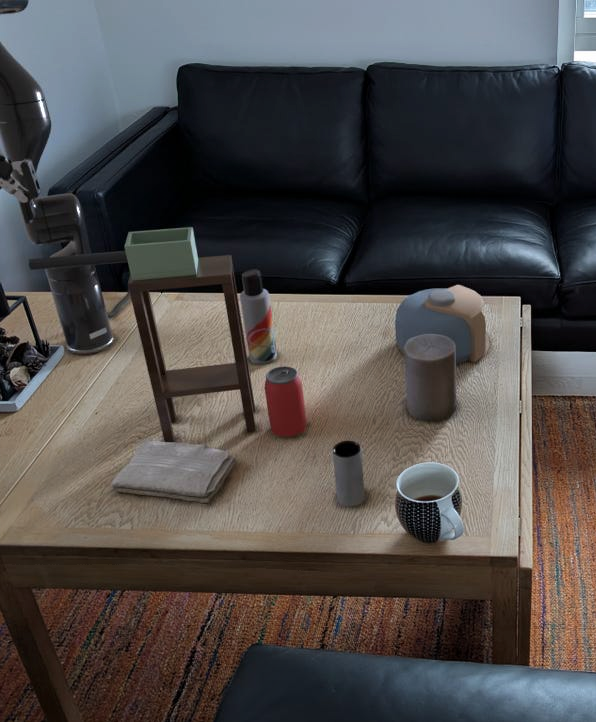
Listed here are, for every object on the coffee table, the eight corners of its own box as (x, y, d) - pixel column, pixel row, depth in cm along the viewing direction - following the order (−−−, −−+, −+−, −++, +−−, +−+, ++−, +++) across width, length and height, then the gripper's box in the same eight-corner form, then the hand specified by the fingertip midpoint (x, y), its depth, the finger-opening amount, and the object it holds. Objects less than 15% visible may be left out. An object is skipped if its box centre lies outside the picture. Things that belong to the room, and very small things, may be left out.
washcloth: (212, 506, 136) (209, 491, 134) (109, 495, 138) (104, 480, 136) (240, 461, 146) (237, 447, 144) (143, 451, 148) (140, 437, 146)
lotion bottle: (270, 366, 172) (258, 279, 162) (244, 362, 173) (231, 276, 163) (281, 352, 177) (270, 267, 167) (256, 349, 178) (243, 264, 168)
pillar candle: (464, 400, 163) (465, 334, 155) (442, 427, 155) (441, 358, 147) (420, 388, 166) (419, 323, 158) (396, 414, 158) (393, 346, 151)
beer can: (313, 422, 156) (307, 368, 149) (295, 442, 150) (288, 387, 144) (282, 415, 157) (275, 361, 151) (264, 435, 152) (255, 380, 146)
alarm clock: (495, 364, 174) (496, 313, 168) (399, 371, 171) (397, 319, 165) (481, 320, 190) (481, 272, 184) (393, 326, 188) (391, 278, 181)
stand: (167, 418, 156) (132, 263, 140) (255, 407, 160) (231, 254, 143) (164, 443, 150) (127, 283, 133) (255, 431, 153) (230, 274, 136)
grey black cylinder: (338, 489, 139) (333, 440, 134) (365, 488, 140) (361, 439, 134) (336, 507, 136) (331, 458, 130) (364, 506, 136) (360, 456, 131)
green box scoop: (39, 273, 136) (29, 239, 132) (198, 260, 141) (192, 227, 138) (31, 289, 131) (20, 254, 128) (196, 275, 136) (190, 241, 133)
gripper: (26, 117, 134) (52, 212, 142) (-72, 122, 131) (-40, 219, 139) (15, 130, 127) (43, 229, 136) (-88, 136, 124) (-53, 236, 133)
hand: (1, 224), depth 137 cm, fingers open, 8 cm apart
